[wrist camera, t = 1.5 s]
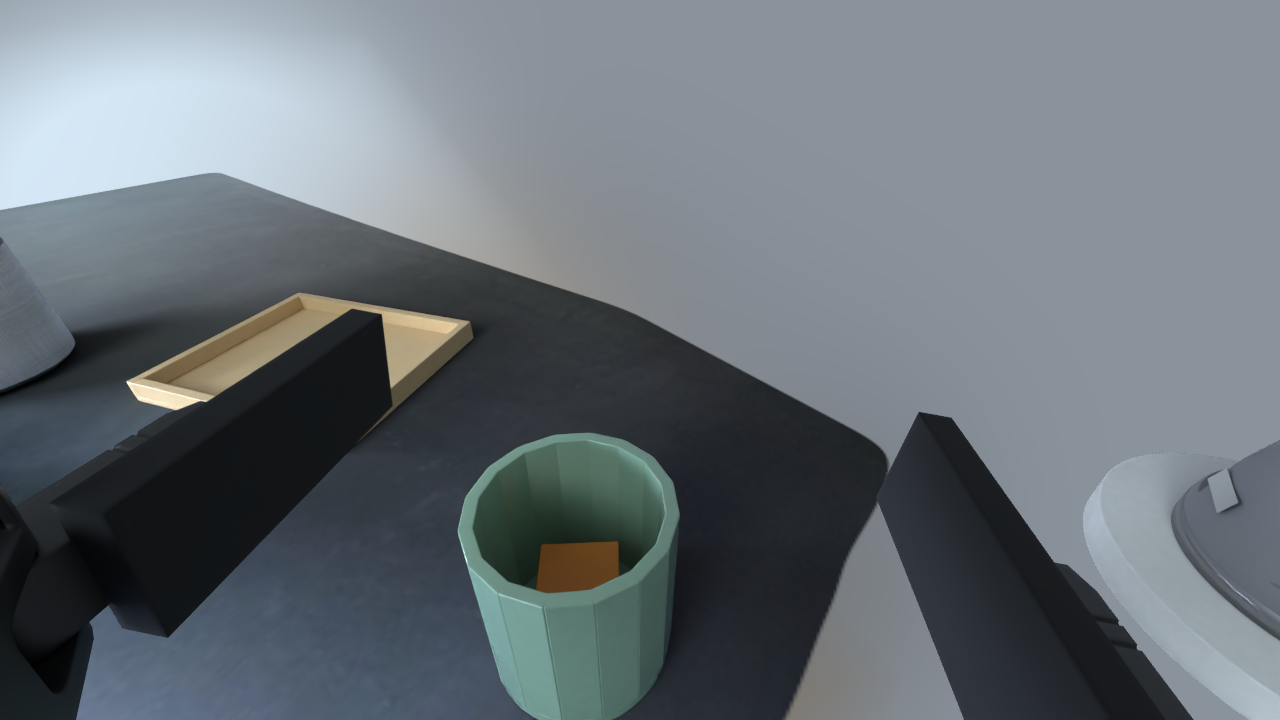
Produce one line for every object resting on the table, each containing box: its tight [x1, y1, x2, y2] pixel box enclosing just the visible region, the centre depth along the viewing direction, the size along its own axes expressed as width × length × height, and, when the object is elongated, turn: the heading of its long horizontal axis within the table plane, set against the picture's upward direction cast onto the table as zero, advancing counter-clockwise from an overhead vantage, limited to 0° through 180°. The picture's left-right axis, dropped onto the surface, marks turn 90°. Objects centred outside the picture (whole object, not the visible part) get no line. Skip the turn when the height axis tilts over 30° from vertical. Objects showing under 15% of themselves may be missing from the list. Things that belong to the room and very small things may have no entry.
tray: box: [126, 293, 473, 443], centre depth 48 cm, size 22×18×2 cm
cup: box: [458, 433, 680, 720], centre depth 25 cm, size 9×9×10 cm
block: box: [536, 541, 619, 593], centre depth 26 cm, size 4×4×4 cm
